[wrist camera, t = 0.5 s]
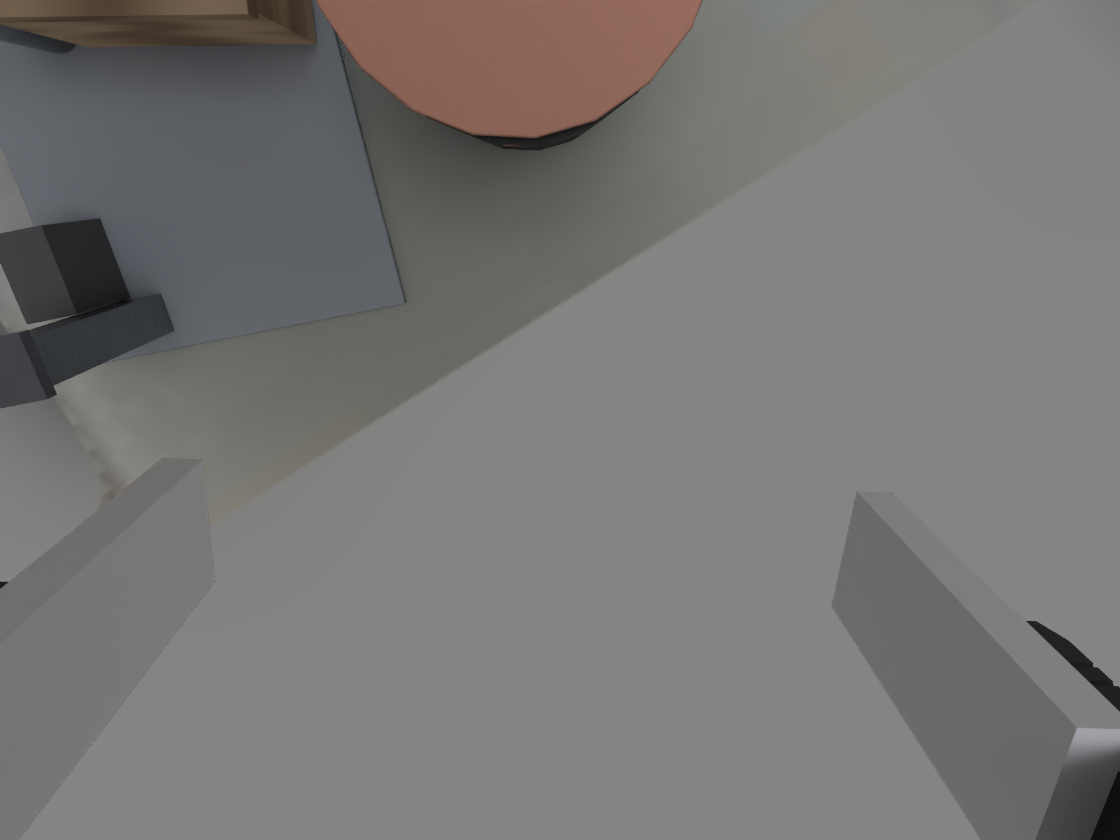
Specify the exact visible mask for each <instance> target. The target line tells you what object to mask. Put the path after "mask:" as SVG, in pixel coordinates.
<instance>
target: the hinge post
mask: <svg viewBox="0 0 1120 840" xmlns="http://www.w3.org/2000/svg"><path fill="white" fill-rule="evenodd" d="M0 41H2V42H6V43H11V44H15V45H19V46H24V47H28V48H33V49H37V50H41V51H46V52H50V53H55V54H63V53H67V52H69V51H71V50H72V49H73V48H74V47H75V46H76V45H77V44H73V43H69V42H66V41H62V40H58V39H54V38H50V37H46V36H42V35H38V34H35V33H31V32H27V31H23V30H19V29H15V28H11V27H8V26H4V25H0Z"/></svg>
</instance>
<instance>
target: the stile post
mask: <svg viewBox="0 0 1120 840" xmlns="http://www.w3.org/2000/svg"><path fill="white" fill-rule="evenodd" d="M173 331H175V330H174V327H173V325H172V322H171V319H170V316H169V314H168V311H167V308H166V306H165V303H164V300H163V297H162V295H161V293H160V294H155V295H150V296H145V297H140V298H135V299H130V300H125V301H120V302H115V303H112V304H109V305H106V306H103V307H100V308H97V309H93V310H90V311H87V312H84V313H81V314H78V315H75V316H72V317H69V318H65V319H62V320H59V321H56V322H53V323H50V324H47V325H44V326H41V327H37V328H34V329H31V330H25V331H20V332H15V333H10V334H5V335H0V408H4V407H10V406H15V405H19V404H25V403H30V402H35V401H40V400H45V399H49V398H51V397H53V396H55V395H57V393H56V391H55V389H54V385H56V384H58V383H60V382H62V381H65V380H67V379H69V378H71V377H74V376H76V375H78V374H80V373H82V372H85V371H87V370H89V369H91V368H94V367H96V366H98V365H100V364H102V363H105V362H107V361H109V360H111V359H114V358H116V357H118V356H120V355H122V354H125V353H127V352H129V351H131V350H133V349H136V348H138V347H140V346H142V345H145V344H147V343H149V342H151V341H153V340H156V339H158V338H160V337H162V336H165V335H167V334H169V333H171V332H173Z"/></svg>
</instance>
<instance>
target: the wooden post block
mask: <svg viewBox="0 0 1120 840" xmlns="http://www.w3.org/2000/svg"><path fill="white" fill-rule="evenodd" d="M0 25H4V26H8V27H11V28H15V29H19V30H23V31H27V32H31V33H35V34H38V35H42V36H46V37H50V38H54V39H58V40H62V41H66V42H69V43H73V44H77V45H81V46H85V47H157V46H234V45H311V44H316V37H315V28H314V19H313V10H312V1H311V0H0Z"/></svg>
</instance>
